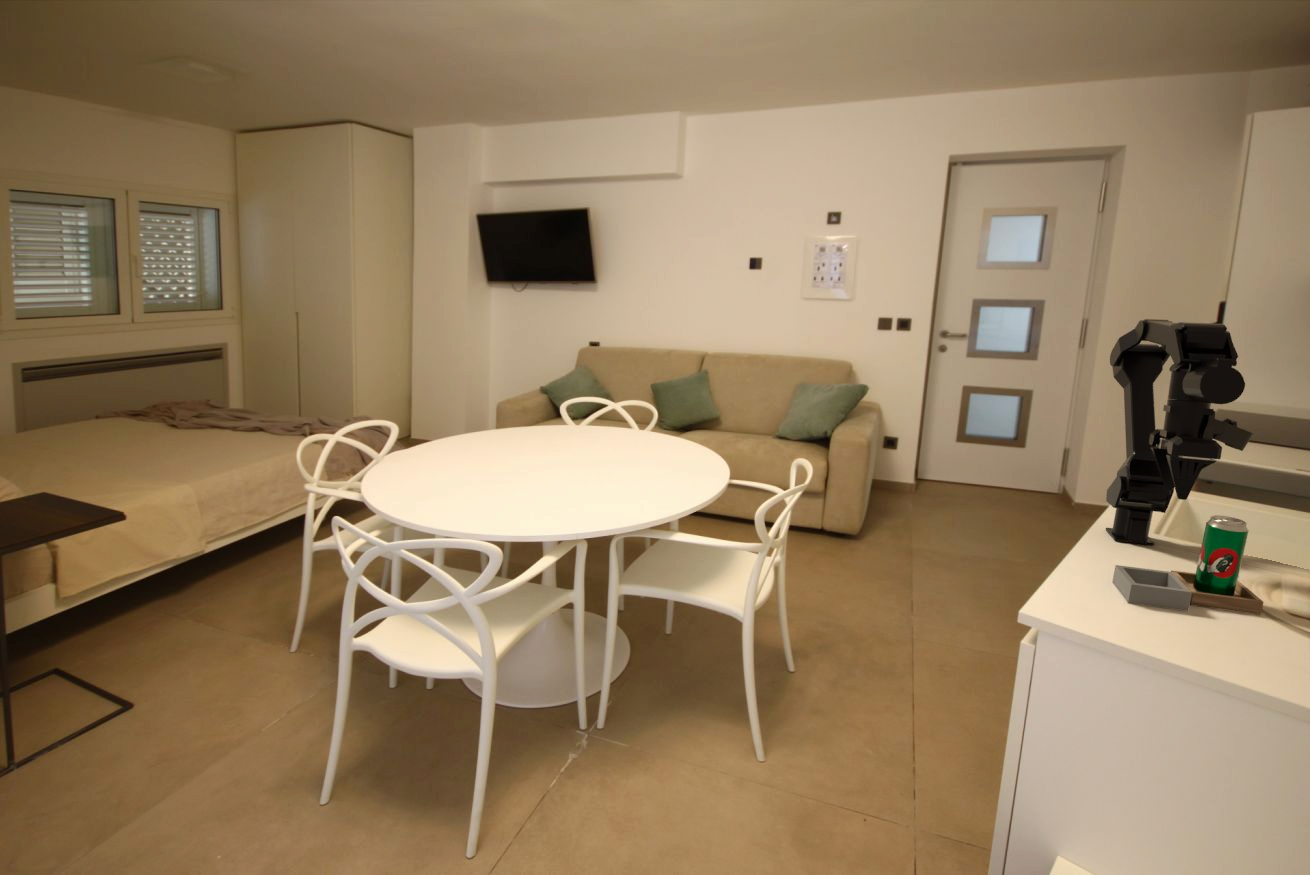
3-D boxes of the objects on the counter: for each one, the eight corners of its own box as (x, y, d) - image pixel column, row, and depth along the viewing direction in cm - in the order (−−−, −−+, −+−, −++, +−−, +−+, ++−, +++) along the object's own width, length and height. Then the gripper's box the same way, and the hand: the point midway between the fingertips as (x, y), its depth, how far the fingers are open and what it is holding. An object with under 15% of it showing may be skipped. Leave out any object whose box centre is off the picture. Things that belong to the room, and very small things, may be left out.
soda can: (1241, 599, 108) (1259, 525, 105) (1213, 601, 107) (1230, 526, 104) (1211, 585, 113) (1226, 513, 110) (1184, 587, 112) (1199, 514, 109)
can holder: (1112, 582, 115) (1115, 564, 114) (1168, 589, 112) (1171, 571, 112) (1128, 602, 107) (1131, 584, 107) (1188, 611, 105) (1192, 592, 104)
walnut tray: (1168, 581, 115) (1171, 570, 115) (1233, 590, 113) (1235, 578, 112) (1190, 605, 107) (1193, 592, 107) (1260, 614, 105) (1263, 601, 104)
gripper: (1272, 407, 104) (1255, 512, 106) (1233, 402, 121) (1219, 492, 123) (1179, 401, 109) (1165, 501, 111) (1154, 397, 125) (1142, 484, 127)
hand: (1175, 494), depth 118 cm, fingers open, 9 cm apart
